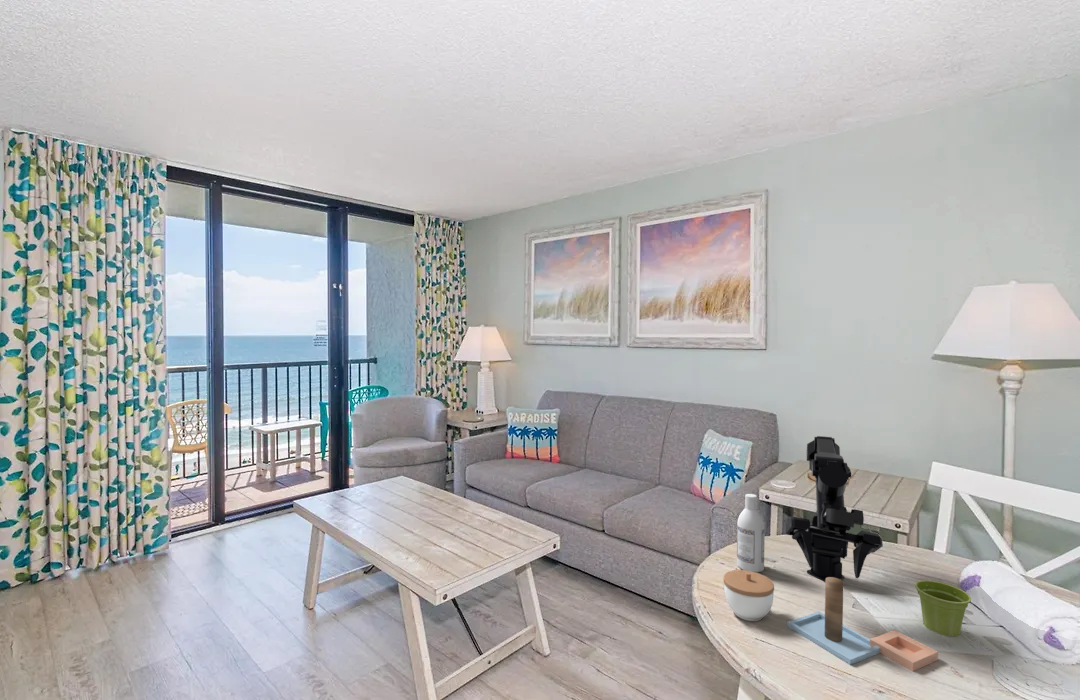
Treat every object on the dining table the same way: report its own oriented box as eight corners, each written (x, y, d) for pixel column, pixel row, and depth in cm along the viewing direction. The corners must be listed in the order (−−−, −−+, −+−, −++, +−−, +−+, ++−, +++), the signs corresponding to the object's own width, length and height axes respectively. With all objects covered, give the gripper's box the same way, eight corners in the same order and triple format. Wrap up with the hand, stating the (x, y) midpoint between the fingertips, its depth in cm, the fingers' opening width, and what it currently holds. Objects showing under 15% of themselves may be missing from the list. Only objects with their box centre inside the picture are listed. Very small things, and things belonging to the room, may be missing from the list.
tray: (787, 629, 108) (787, 621, 108) (818, 618, 113) (818, 611, 113) (850, 668, 96) (850, 659, 96) (883, 654, 100) (883, 646, 100)
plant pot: (944, 617, 113) (945, 579, 113) (982, 643, 103) (983, 602, 103) (903, 618, 112) (904, 580, 112) (938, 644, 103) (939, 602, 103)
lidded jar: (735, 596, 122) (735, 558, 122) (781, 613, 114) (781, 573, 114) (714, 613, 115) (715, 573, 114) (762, 633, 107) (762, 590, 107)
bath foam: (754, 560, 141) (755, 490, 141) (769, 572, 135) (770, 498, 134) (731, 562, 140) (732, 492, 140) (745, 574, 134) (746, 500, 133)
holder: (869, 650, 101) (870, 639, 101) (894, 640, 104) (894, 629, 104) (912, 674, 94) (913, 662, 94) (937, 662, 97) (938, 651, 97)
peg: (821, 633, 106) (822, 577, 105) (835, 632, 106) (836, 576, 105) (830, 642, 102) (831, 584, 102) (845, 641, 103) (846, 584, 102)
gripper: (797, 484, 116) (798, 552, 107) (888, 501, 111) (897, 574, 102) (785, 501, 125) (785, 565, 116) (869, 518, 120) (876, 586, 111)
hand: (834, 572), depth 111 cm, fingers open, 9 cm apart
